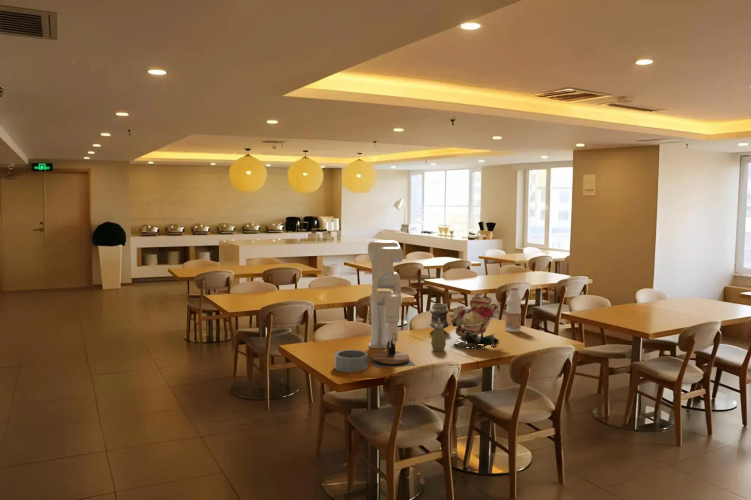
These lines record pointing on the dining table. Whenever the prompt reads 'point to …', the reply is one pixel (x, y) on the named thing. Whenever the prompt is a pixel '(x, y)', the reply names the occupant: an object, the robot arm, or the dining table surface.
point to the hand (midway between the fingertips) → (390, 353)
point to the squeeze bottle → (438, 337)
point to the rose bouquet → (474, 322)
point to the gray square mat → (381, 365)
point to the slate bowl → (351, 361)
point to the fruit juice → (513, 311)
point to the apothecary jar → (439, 315)
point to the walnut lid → (390, 357)
